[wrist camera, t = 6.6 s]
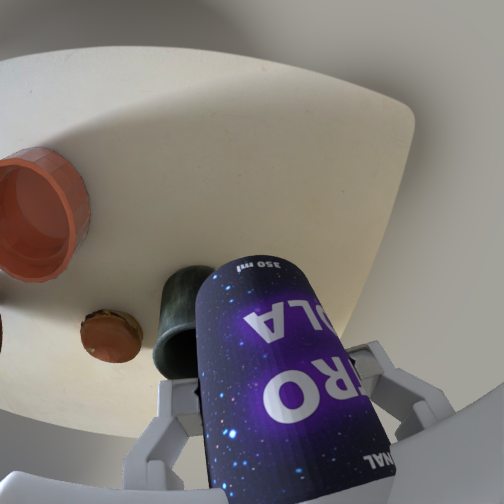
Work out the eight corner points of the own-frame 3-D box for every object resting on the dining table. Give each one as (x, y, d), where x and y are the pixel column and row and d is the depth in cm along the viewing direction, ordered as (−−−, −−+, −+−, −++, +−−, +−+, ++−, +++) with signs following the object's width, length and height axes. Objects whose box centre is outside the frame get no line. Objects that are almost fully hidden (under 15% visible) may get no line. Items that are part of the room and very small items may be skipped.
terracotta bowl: (21, 124, 26) (-6, 133, 20) (113, 188, 32) (98, 207, 27) (-14, 221, 30) (-36, 240, 25) (65, 276, 37) (51, 303, 32)
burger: (155, 333, 44) (152, 356, 40) (116, 355, 45) (112, 376, 41) (109, 292, 39) (102, 314, 35) (73, 319, 41) (65, 340, 37)
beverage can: (310, 316, 17) (396, 515, 7) (214, 344, 17) (248, 557, 7) (296, 230, 14) (445, 489, 4) (178, 264, 14) (186, 559, 4)
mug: (241, 261, 40) (257, 323, 30) (231, 339, 47) (241, 401, 37) (158, 258, 38) (147, 322, 28) (162, 338, 45) (159, 402, 35)
